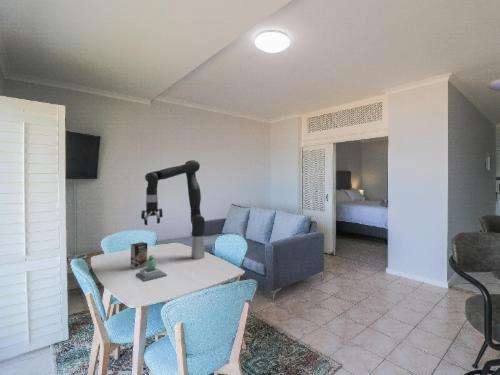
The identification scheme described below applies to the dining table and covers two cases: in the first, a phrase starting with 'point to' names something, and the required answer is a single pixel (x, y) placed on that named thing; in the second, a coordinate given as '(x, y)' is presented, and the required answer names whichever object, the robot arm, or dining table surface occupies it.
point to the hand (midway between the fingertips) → (152, 224)
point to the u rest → (150, 274)
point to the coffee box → (138, 255)
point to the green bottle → (151, 264)
